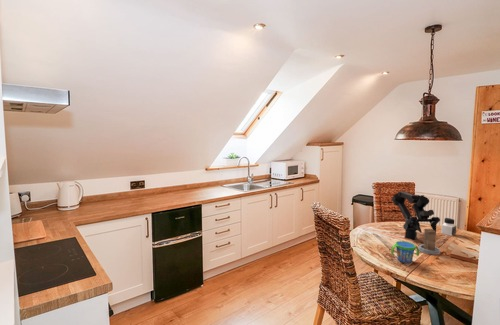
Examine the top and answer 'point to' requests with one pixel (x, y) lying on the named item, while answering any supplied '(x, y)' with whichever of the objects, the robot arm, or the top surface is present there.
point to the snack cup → (405, 251)
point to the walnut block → (429, 239)
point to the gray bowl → (436, 252)
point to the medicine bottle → (448, 227)
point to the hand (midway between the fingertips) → (428, 232)
